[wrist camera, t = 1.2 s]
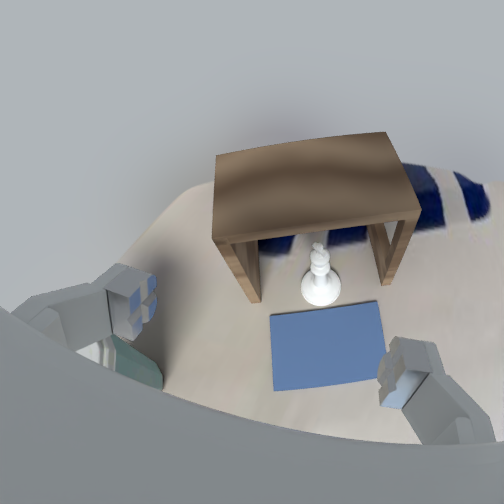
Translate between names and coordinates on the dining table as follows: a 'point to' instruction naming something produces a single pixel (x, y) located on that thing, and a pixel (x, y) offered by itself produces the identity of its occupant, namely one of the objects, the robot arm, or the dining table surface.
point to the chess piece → (320, 279)
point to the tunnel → (311, 199)
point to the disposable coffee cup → (124, 360)
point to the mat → (326, 346)
